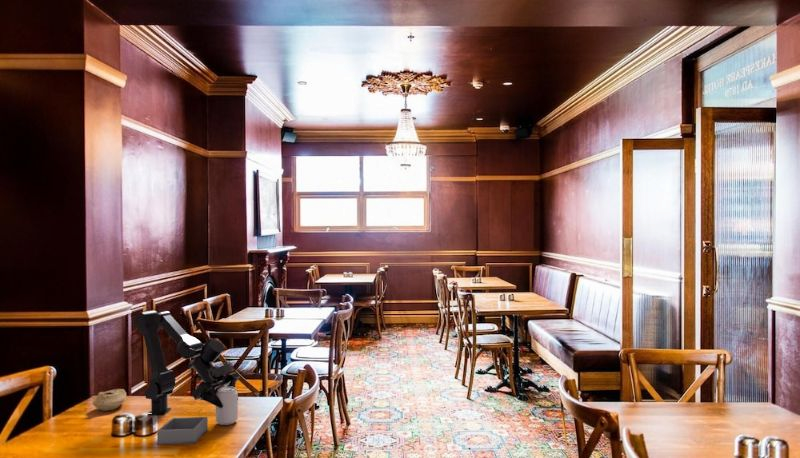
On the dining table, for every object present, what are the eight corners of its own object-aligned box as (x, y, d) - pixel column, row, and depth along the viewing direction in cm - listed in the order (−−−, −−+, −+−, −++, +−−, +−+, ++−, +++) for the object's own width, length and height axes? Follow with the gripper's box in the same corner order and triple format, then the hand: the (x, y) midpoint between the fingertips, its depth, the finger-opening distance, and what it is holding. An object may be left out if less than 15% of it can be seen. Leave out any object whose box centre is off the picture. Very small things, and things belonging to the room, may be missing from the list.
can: (230, 426, 181) (230, 392, 182) (211, 425, 183) (211, 391, 183) (241, 419, 189) (241, 386, 189) (222, 417, 190) (222, 384, 190)
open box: (172, 430, 179) (172, 417, 179) (207, 429, 180) (207, 416, 180) (157, 444, 167) (157, 430, 167) (195, 443, 168) (194, 429, 168)
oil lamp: (133, 401, 213) (133, 381, 213) (116, 413, 198) (116, 392, 198) (105, 402, 212) (105, 382, 212) (86, 415, 197) (86, 394, 197)
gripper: (198, 361, 179) (224, 397, 175) (235, 350, 196) (259, 382, 192) (181, 382, 182) (206, 417, 178) (219, 369, 199) (242, 401, 195)
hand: (229, 403), depth 185 cm, fingers closed on can, 7 cm apart
